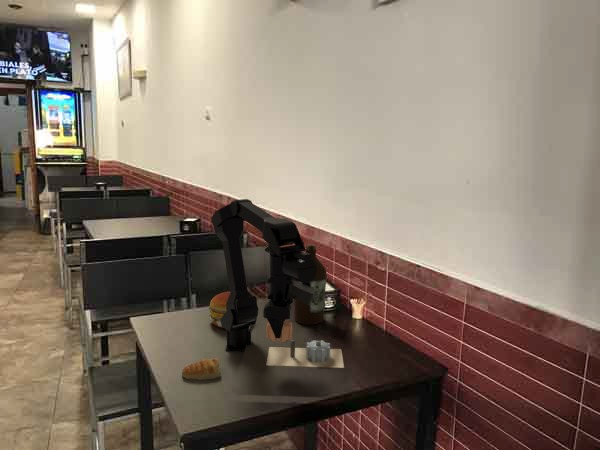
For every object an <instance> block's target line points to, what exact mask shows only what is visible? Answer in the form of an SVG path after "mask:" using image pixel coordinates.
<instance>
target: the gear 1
mask: <svg viewBox="0 0 600 450" xmlns="http://www.w3.org/2000/svg"><path fill="white" fill-rule="evenodd" d="M265 331H266V333H265V334H266V335H265V336H266V337H265V338H266V339H270V340H271V341H272V342H282V343H283V342H284V343H285V342H286V341H287V340H293V339H292V338H293V321H289V320H288V319H286V320H285V321H284V324H283V328H282V333H281V337H280V338H276V337H275V335H274V333H273V331H272V328H271V326H270V324H269V322H268V320H267V322H266V330H265Z"/></svg>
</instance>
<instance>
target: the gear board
mask: <svg viewBox="0 0 600 450" xmlns="http://www.w3.org/2000/svg"><path fill="white" fill-rule="evenodd" d="M344 365H345V364H344V358H343V351H342V349H341V348H330V360H326V361H324V363H321V362H315V363H314V362H312V361H311V360H307V359H306V347H296V340H295V339H290V347H280V346H277V347H275V346H269V347H268V354H267V358H266V366H271V367H272V366H273V367H303V368H305V367H307V368H331V369H332V368H336V369H337V368H341V369H344V368H345V366H344Z"/></svg>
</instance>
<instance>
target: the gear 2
mask: <svg viewBox="0 0 600 450" xmlns="http://www.w3.org/2000/svg"><path fill="white" fill-rule="evenodd" d="M305 348H306V359H307V360H311V361H312V362H314V363H315V362H321V363H324V361H326V360H330V349H331V343H330V342H325V340H311V341H310V342H309V341H307V342H306V347H305Z"/></svg>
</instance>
